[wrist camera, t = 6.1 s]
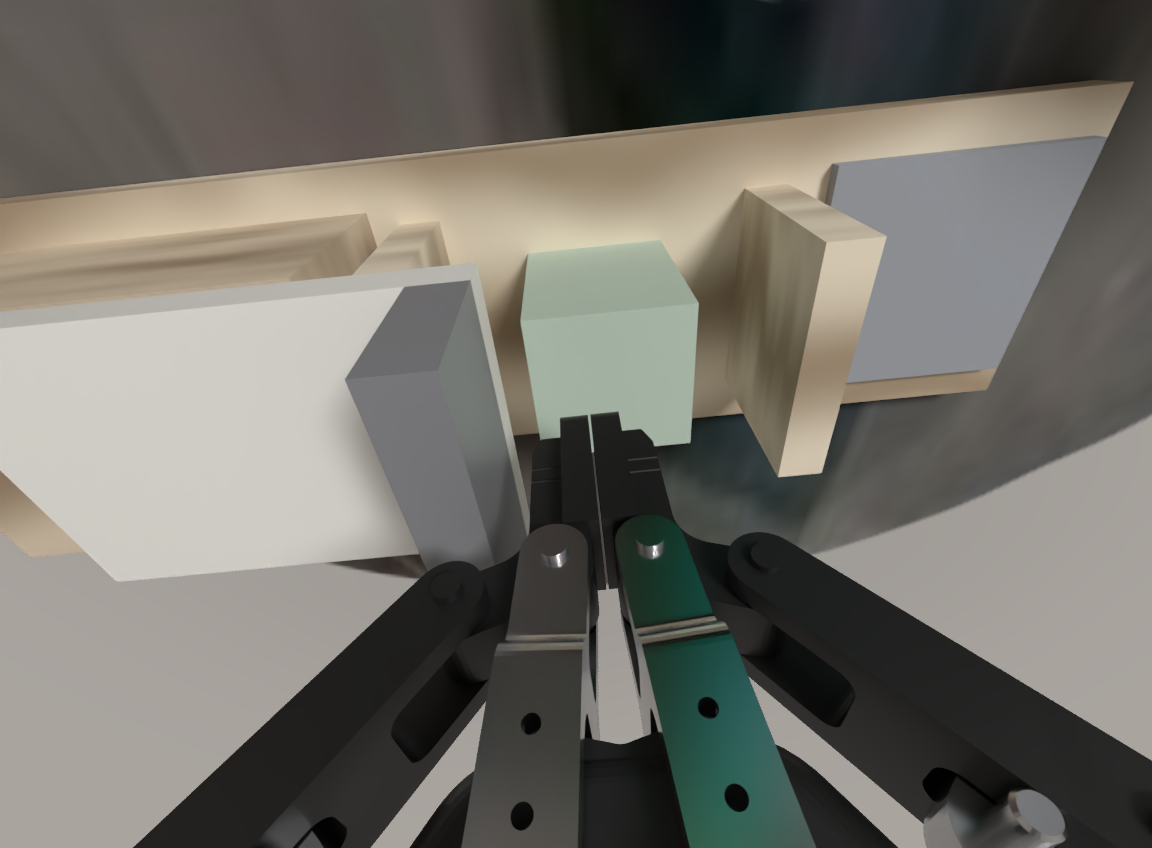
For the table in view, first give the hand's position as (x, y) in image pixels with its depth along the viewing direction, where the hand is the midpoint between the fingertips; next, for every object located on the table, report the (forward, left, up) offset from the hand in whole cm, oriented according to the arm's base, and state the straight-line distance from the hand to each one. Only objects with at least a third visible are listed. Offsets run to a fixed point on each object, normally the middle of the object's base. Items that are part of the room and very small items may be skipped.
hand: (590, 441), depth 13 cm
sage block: (0, +1, -9) cm, 9 cm away
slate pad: (-9, +10, -9) cm, 17 cm away
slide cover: (+7, -7, -2) cm, 10 cm away
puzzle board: (+1, -1, -10) cm, 10 cm away
